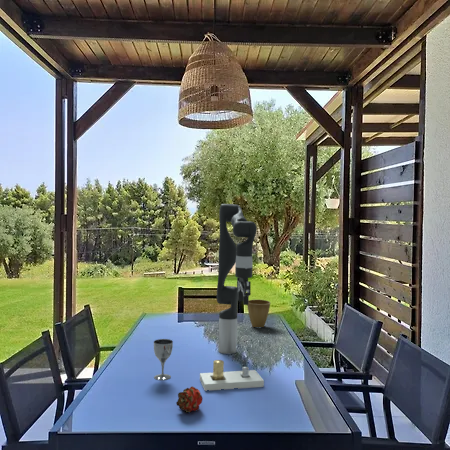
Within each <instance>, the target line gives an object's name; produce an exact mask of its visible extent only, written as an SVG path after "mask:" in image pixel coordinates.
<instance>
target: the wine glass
mask: <svg viewBox="0 0 450 450" xmlns="http://www.w3.org/2000/svg"><path fill="white" fill-rule="evenodd" d="M173 343H174V341H173V339H170V338H169V339H168V338H158V339H155V340H153V353H154V356H155V357H156V358H157V359H158V361H159V362H160V364H161V365H160V366H161V373H159V374H156V375H154V377H153V378H154V380H157V381H167V380H170V379H171V378H172V376H171V375H170V374H167V373H164V371H165V370H164V369H165V364H166V361H167V360H168V359H169V357H170V356H171V355H172V351H173V348H174V344H173Z"/></svg>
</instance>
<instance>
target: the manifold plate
mask: <svg viewBox="0 0 450 450" xmlns="http://www.w3.org/2000/svg"><path fill="white" fill-rule="evenodd" d="M199 381H200V383H201V386H202V388H203V389H204V391H205V392H206V391H207V390H209V391H222V390H221V389H224V390H235V389H234V388H238V389H249V388H262V387H264V386H265V380H264V379H263V378H262V377H261V375H260V374H259V373H258V371H256V370H255V369H249V377H248V378H242V370H235V371H234V370H233V371H224V372H223V380H216V381H213V372H200V373H199ZM264 388H265V387H264ZM207 392H208V391H207Z"/></svg>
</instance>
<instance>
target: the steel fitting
mask: <svg viewBox="0 0 450 450" xmlns="http://www.w3.org/2000/svg"><path fill="white" fill-rule="evenodd" d="M241 369H242V370H241V371H242V378H248V377H249V370H250V367H249V366H242V368H241Z"/></svg>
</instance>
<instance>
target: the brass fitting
mask: <svg viewBox="0 0 450 450" xmlns="http://www.w3.org/2000/svg"><path fill="white" fill-rule="evenodd" d="M224 365H225V362H224V360H223V359H215V360H213V365H212V366H213V367H212V373H213V381H216V380H223V372H225V371H224V368H225V367H224Z"/></svg>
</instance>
